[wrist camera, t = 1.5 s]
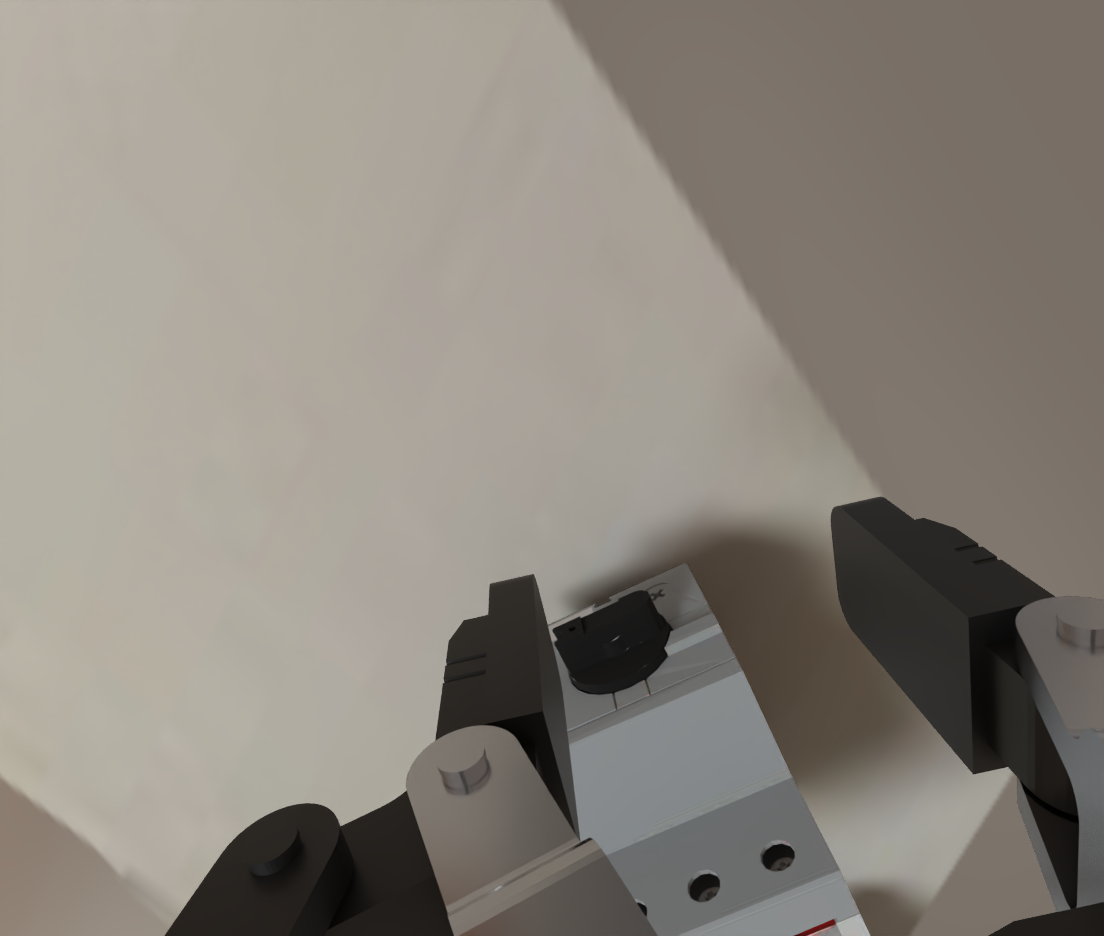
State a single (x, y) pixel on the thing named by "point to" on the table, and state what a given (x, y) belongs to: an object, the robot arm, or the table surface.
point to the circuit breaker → (689, 773)
